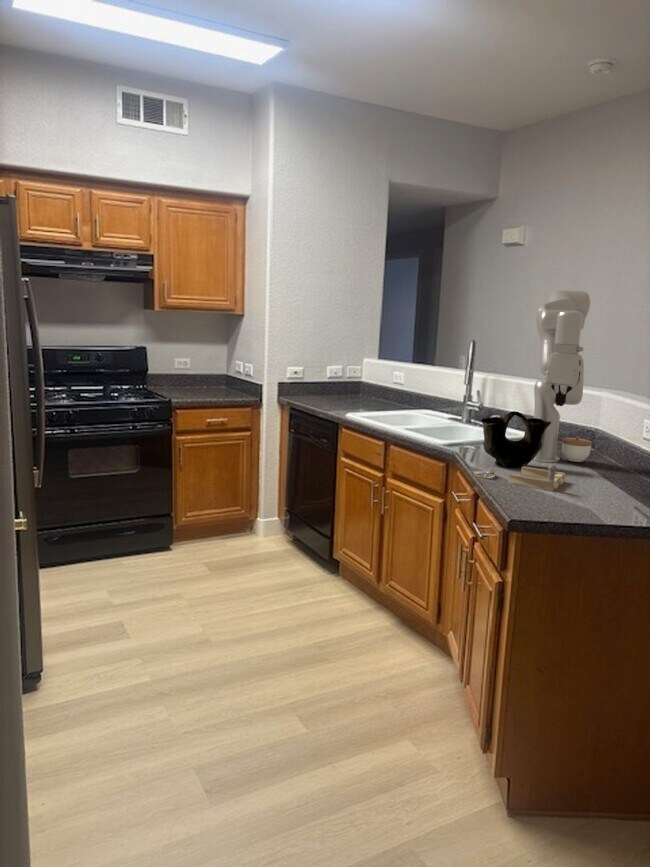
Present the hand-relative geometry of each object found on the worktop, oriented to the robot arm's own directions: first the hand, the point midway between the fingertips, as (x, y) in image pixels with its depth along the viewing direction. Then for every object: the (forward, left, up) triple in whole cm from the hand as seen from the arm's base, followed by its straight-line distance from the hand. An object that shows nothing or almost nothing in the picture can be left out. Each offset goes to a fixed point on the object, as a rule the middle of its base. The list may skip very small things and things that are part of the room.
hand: (559, 405), depth 215 cm
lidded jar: (-38, -1, -26) cm, 46 cm away
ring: (+9, -21, -25) cm, 34 cm away
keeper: (+9, -4, -25) cm, 27 cm away
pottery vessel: (-11, -17, -25) cm, 33 cm away
